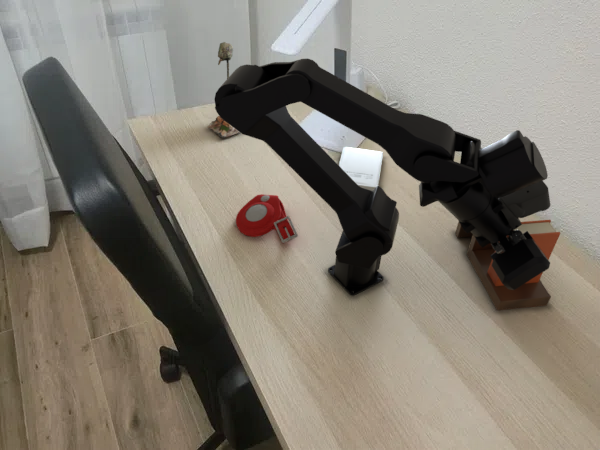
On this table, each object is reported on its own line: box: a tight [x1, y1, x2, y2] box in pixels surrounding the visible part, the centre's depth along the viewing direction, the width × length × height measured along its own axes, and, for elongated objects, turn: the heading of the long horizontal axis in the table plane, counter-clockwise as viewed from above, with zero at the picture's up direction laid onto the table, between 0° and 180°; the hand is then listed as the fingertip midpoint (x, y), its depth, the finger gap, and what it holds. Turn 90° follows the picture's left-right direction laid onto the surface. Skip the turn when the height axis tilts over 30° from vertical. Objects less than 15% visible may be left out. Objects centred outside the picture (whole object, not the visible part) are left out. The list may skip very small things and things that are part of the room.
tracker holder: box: [235, 194, 299, 244], centre depth 94 cm, size 12×4×10 cm
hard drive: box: [338, 146, 384, 191], centre depth 108 cm, size 2×8×12 cm
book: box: [488, 219, 561, 286], centre depth 81 cm, size 7×3×10 cm, turn 99°
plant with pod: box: [206, 41, 240, 138], centre depth 113 cm, size 8×11×20 cm
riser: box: [454, 218, 552, 311], centre depth 87 cm, size 8×18×6 cm, turn 9°
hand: (524, 255), depth 82 cm, fingers closed on book, 3 cm apart
